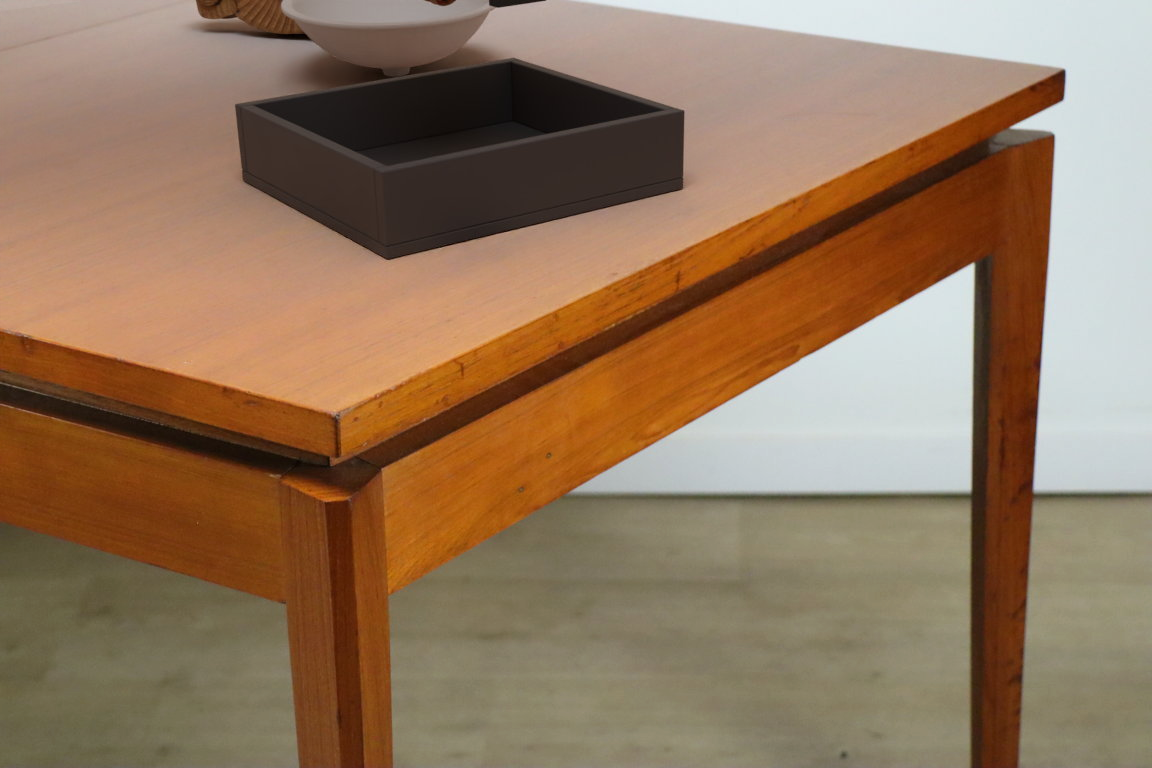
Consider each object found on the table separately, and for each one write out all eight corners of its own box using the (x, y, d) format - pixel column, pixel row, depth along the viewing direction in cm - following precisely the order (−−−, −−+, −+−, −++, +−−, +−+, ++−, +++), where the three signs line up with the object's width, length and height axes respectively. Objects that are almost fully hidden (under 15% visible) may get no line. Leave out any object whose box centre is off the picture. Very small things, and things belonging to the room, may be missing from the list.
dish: (302, 48, 110) (296, -23, 107) (501, 43, 110) (499, -27, 108) (272, 109, 94) (264, 27, 91) (505, 103, 94) (502, 22, 92)
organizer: (242, 180, 80) (234, 103, 78) (515, 126, 89) (514, 57, 87) (387, 259, 69) (381, 171, 67) (683, 188, 78) (685, 110, 76)
